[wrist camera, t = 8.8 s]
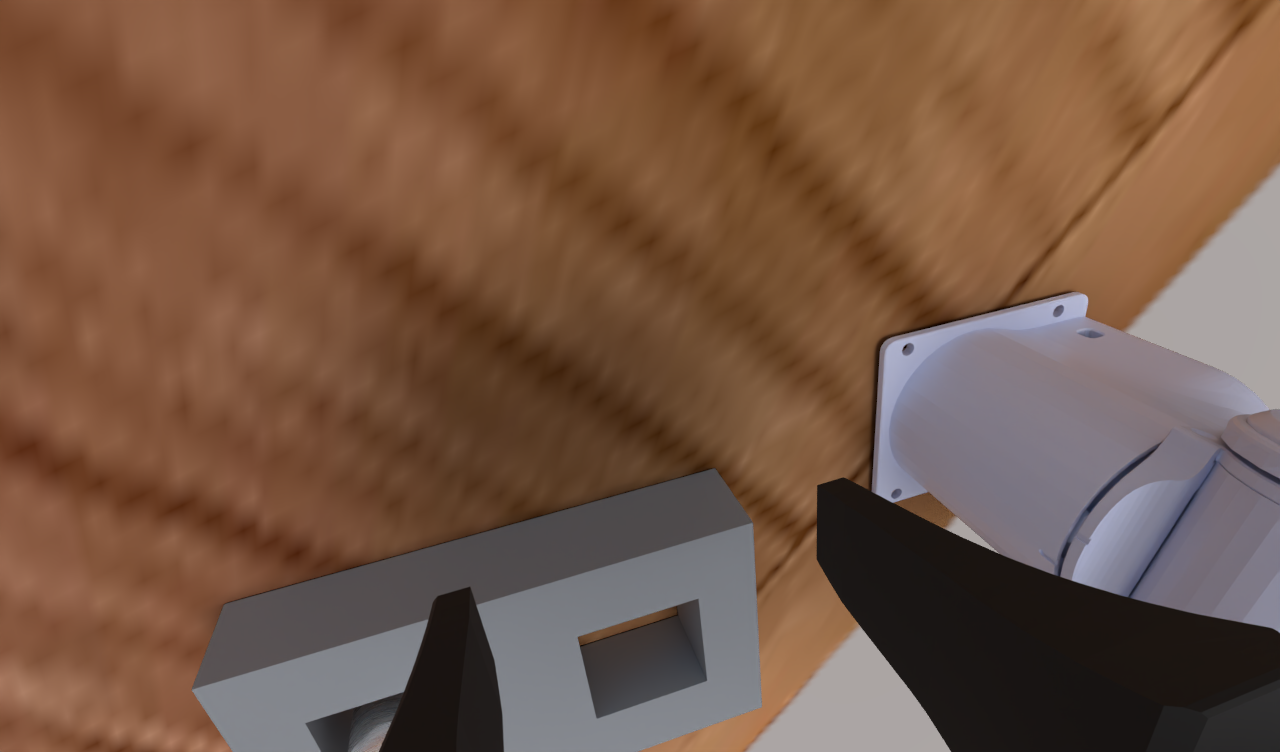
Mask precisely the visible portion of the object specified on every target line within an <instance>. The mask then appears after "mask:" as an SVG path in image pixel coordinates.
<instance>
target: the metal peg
mask: <svg viewBox="0 0 1280 752" xmlns="http://www.w3.org/2000/svg"><path fill="white" fill-rule="evenodd" d="M403 693H404V692H402V693H399V694H396V695H392V696H389V697H386V698H383V699H380V700H377V701H373V702H370V703H367V704H364V705H361V706H358V707H355V708H353V714H352V723H351V731H350V739H349V748H348V752H379V750H380V747H381V745H382V743H383V740H384V738H385V736H386V734H387V731H388V729H389V727H390V724H391V722H392V720H393V718H394V715H395V713H396V711H397V708H398V706H399V703H400V701H401V698H402V696H403Z"/></svg>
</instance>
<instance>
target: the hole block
mask: <svg viewBox="0 0 1280 752" xmlns="http://www.w3.org/2000/svg"><path fill="white" fill-rule="evenodd" d="M467 587H471V590H472V593H473V596H474V599H475V602H476V606H477V609H478V612H479V615H480V618H481V621H482V624H483V627H484V630H485V633H486V636H487V639H488V642H489V645H490V648H491V651H492V654H493V657H494V660H495V667H496V673H497V680H498V686H499V693H500V700H501V707H502V715H503V738H504V752H638V751H641V750H644V749H646V748H649V747H652V746H655V745H657V744H660V743H663V742H666V741H669V740H671V739H674V738H677V737H680V736H683V735H685V734H688V733H691V732H694V731H697V730H699V729H702V728H705V727H708V726H710V725H713V724H716V723H719V722H722V721H724V720H727V719H730V718H733V717H736V716H738V715H741V714H744V713H747V712H750V711H752V710H755V709H758V708H761V707H762V698H761V678H760V657H759V637H758V616H757V596H756V576H755V555H754V535H753V522H752V521H751V519H750V518H749V516H748V515H747V513H746V512H745V511H744V509H743V508H742V506H741V505H740V503H739V502H738V500H737V499H736V498H735V496H734V495H733V493H732V492H731V490H730V489H729V487H728V486H727V485H726V483H725V482H724V480H723V479H722V477H721V476H720V475H719V473H718V472H717V470H716V469H715V468H714V469H710V470H707V471H703V472H700V473H696V474H692V475H689V476H685V477H682V478H678V479H674V480H671V481H667V482H664V483H660V484H656V485H653V486H649V487H645V488H642V489H638V490H635V491H631V492H627V493H624V494H620V495H617V496H613V497H609V498H606V499H602V500H599V501H595V502H591V503H588V504H584V505H580V506H577V507H573V508H570V509H566V510H562V511H559V512H555V513H552V514H548V515H544V516H541V517H537V518H533V519H530V520H526V521H523V522H519V523H515V524H512V525H508V526H505V527H501V528H497V529H494V530H490V531H487V532H483V533H479V534H476V535H472V536H468V537H465V538H461V539H458V540H454V541H450V542H447V543H443V544H440V545H436V546H432V547H429V548H425V549H422V550H418V551H414V552H411V553H407V554H403V555H400V556H396V557H393V558H389V559H385V560H382V561H378V562H375V563H371V564H367V565H364V566H360V567H356V568H353V569H349V570H346V571H342V572H338V573H335V574H331V575H328V576H324V577H320V578H317V579H313V580H310V581H306V582H302V583H299V584H295V585H291V586H288V587H284V588H281V589H277V590H273V591H270V592H266V593H263V594H259V595H255V596H252V597H248V598H244V599H241V600H237V601H234V602H230V603H226V604H224V606H223V608H222V611H221V614H220V616H219V619H218V622H217V624H216V627H215V629H214V632H213V635H212V637H211V640H210V643H209V645H208V648H207V650H206V653H205V656H204V658H203V661H202V664H201V666H200V669H199V671H198V674H197V677H196V679H195V682H194V685H193V687H192V691H193V693H194V694H195V696H196V697H197V699H198V700H199V702H200V703H201V705H202V706H203V708H204V709H205V711H206V712H207V714H208V715H209V717H210V718H211V720H212V721H213V723H214V724H215V726H216V727H217V729H218V730H219V732H220V733H221V735H222V736H223V738H224V739H225V741H226V742H227V744H228V745H229V747H230V748H231V750H232V751H233V752H348V748H349V739H350V731H351V723H352V714H353V708H355V707H358V706H361V705H364V704H367V703H370V702H373V701H377V700H380V699H383V698H386V697H389V696H392V695H396V694H399V693H402V692H404V690H405V688H406V685H407V682H408V680H409V677H410V674H411V672H412V669H413V666H414V664H415V661H416V658H417V655H418V652H419V649H420V646H421V643H422V640H423V636H424V633H425V630H426V626H427V623H428V619H429V616H430V612H431V608H432V603H433V601H434V600H435V599H436V597H437V596H439V595H443V594H446V593H449V592H453V591H456V590H460V589H463V588H467ZM673 606H677V611H678V616H675V617H672V618H668V619H665V620H662V621H659V622H656V623H653V624H650V625H647V626H643V627H640V628H637V629H634V630H631V631H628V632H625V633H622V634H618V635H615V636H612V637H609V638H606V639H603V640H600V641H597V642H593V643H590V644H587V645H584V646H581V647H580V646H579V641H578V637H579V636H582V635H585V634H588V633H591V632H595V631H598V630H601V629H604V628H607V627H610V626H613V625H617V624H620V623H623V622H626V621H629V620H632V619H636V618H639V617H642V616H645V615H648V614H651V613H654V612H658V611H661V610H664V609H667V608H670V607H673Z"/></svg>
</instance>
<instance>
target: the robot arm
mask: <svg viewBox="0 0 1280 752" xmlns="http://www.w3.org/2000/svg"><path fill="white" fill-rule="evenodd" d="M1087 306H1088V298H1087V296H1086V295H1085V294H1082V293H1079V292H1072V293H1068V294H1064V295H1060V296H1056V297H1052V298H1048V299H1044V300H1040V301H1036V302H1031V303H1027V304H1023V305H1019V306H1015V307H1011V308H1007V309H1003V310H999V311H995V312H991V313H987V314H983V315H979V316H975V317H971V318H967V319H963V320H959V321H955V322H951V323H947V324H943V325H939V326H935V327H931V328H927V329H923V330H919V331H915V332H911V333H907V334H903V335H899V336H895V337H891V338H889V339H887V340H886V341H885V342H884V343H883V345H882V346H881V349H880V359H879V376H878V393H877V410H876V427H875V444H874V461H873V478H872V492H871V491H869V490H868V489H866V488H864V487H862V486H860V485H858V484H856V483H854V482H852V481H850V480H848V479H846V478H840V479H837V480H833V481H830V482H827V483H823V484H820V485H817V561H818V562H819V564H820V566H821V568H822V569H823V571H824V573H825V575H826V576H827V578H828V580H829V582H830V583H831V585H832V587H833V588H834V590H835V591H836V593H837V595H838V596H839V598H840V600H841V601H842V603H843V604H844V605H845V607H846V608H847V609H848V611H849V612H850V613H851V615H852V616H853V617H854V618H855V620H856V621H857V622H858V624H859V625H860V626H861V628H862V629H863V630H864V631H865V633H866V634H867V635H868V637H869V638H870V639H871V641H872V642H873V643H874V644H875V646H876V647H877V648H878V649H879V651H880V652H881V653H882V655H883V656H884V657H885V658H886V660H887V661H888V662H889V664H890V665H891V666H892V667H893V669H894V670H895V671H896V673H897V674H898V675H899V676H900V678H901V679H902V680H903V681H904V683H905V684H906V685H907V687H908V688H909V689H910V691H911V692H912V693H913V695H914V696H915V697H916V699H917V700H918V702H919V703H920V704H921V706H922V707H923V709H924V710H925V711H926V713H927V714H928V716H929V717H930V719H931V721H932V722H933V724H934V725H935V726H936V728H937V730H938V732H939V733H940V735H941V736H942V738H943V739H944V741H945V742H946V744H947V746H948V747H949V749H950V750H951V752H1280V409H1273V410H1270V409H1269V408H1268V407H1267V406H1266V405H1265V403H1264V402H1263V401H1262V400H1261V399H1260V398H1259V397H1258V396H1257V395H1256V394H1255V393H1254V392H1253V391H1252V390H1250V389H1249V388H1248V387H1247V386H1245V385H1244V384H1243V383H1242V382H1241V381H1239V380H1238V379H1236V378H1234V377H1233V376H1231V375H1229V374H1228V373H1225V372H1223V371H1221V370H1219V369H1217V368H1214V367H1212V366H1209V365H1207V364H1204V363H1202V362H1199V361H1197V360H1194V359H1191V358H1189V357H1186V356H1184V355H1181V354H1179V353H1176V352H1174V351H1171V350H1169V349H1166V348H1163V347H1161V346H1158V345H1156V344H1153V343H1151V342H1148V341H1146V340H1143V339H1141V338H1138V337H1135V336H1133V335H1130V334H1128V333H1125V332H1123V331H1120V330H1118V329H1115V328H1113V327H1110V326H1107V325H1105V324H1102V323H1100V322H1097V321H1095V320H1092V319H1090V318H1087V317H1085V315H1086V310H1087ZM1054 309H1055V310H1054ZM906 344H908V345H907V348H906V349H905V350H904V351H902V350H903V347H904V346H905V345H906ZM893 491H894V492H893ZM926 492H929V493H930V494H932V495H933V496H934V497H935V498H936V499H937V500H939V501H940V502H941V503H942V504H943V505H944V506H945V507H947V508H948V509H949V510H950V511H951V512H952V513H954V514H955V515H956V516H957V517H958V518H959V519H960V520H962V521H963V522H964V523H965V524H966V525H967V526H969V527H970V528H971V529H972V530H973V531H974V532H975V533H977V534H978V535H979V536H980V537H981V538H982V539H983V540H985V541H986V542H987V543H988V544H989V545H990V546H992V547H993V548H994V549H995V550H996V551H997V552H998V553H1000V554H998V553H996V552H994V551H991V550H989V549H987V548H985V547H982V546H980V545H978V544H976V543H973V542H971V541H969V540H967V539H964V538H962V537H960V536H958V535H956V534H954V533H952V532H949V531H947V530H945V529H943V528H941V527H939V526H937V525H935V524H933V523H931V522H929V521H927V520H925V519H923V518H921V517H919V516H917V515H915V514H913V513H911V512H909V511H907V510H906V509H904V508H902V507H900V506H898V505H896V504H894V503H893V502H897V501H900V500H903V499H907V498H910V497H913V496H916V495H920V494H923V493H926ZM379 752H504V738H503V715H502V707H501V700H500V693H499V686H498V680H497V673H496V667H495V660H494V657H493V654H492V651H491V648H490V645H489V642H488V639H487V636H486V633H485V630H484V627H483V624H482V621H481V618H480V615H479V612H478V609H477V606H476V602H475V599H474V596H473V593H472V590H471V587H467V588H463V589H460V590H456V591H453V592H449V593H446V594H443V595H439V596H437V597H436V599H435V600H434V601H433V603H432V608H431V612H430V616H429V619H428V623H427V626H426V630H425V633H424V636H423V640H422V643H421V646H420V649H419V652H418V655H417V658H416V661H415V664H414V666H413V669H412V672H411V674H410V677H409V680H408V682H407V685H406V688H405V690H404V693H403V696H402V698H401V701H400V703H399V706H398V708H397V711H396V713H395V715H394V718H393V720H392V722H391V724H390V727H389V729H388V731H387V734H386V736H385V738H384V740H383V743H382V745H381V747H380V750H379Z"/></svg>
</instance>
